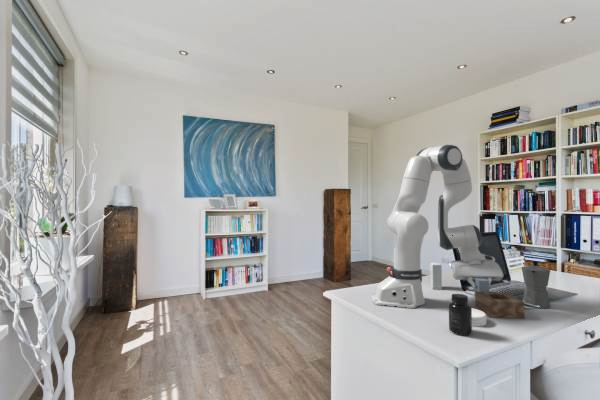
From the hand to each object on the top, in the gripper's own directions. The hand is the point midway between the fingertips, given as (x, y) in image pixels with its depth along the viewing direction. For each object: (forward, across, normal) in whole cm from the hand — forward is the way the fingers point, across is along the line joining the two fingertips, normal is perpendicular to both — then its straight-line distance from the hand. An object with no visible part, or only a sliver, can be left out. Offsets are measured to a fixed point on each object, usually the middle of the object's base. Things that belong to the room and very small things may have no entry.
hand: (482, 288), depth 132 cm
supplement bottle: (+28, -21, -20) cm, 40 cm away
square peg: (+4, 0, +4) cm, 5 cm away
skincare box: (-9, -14, +17) cm, 24 cm away
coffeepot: (+6, +20, +2) cm, 21 cm away
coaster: (+21, -14, -13) cm, 28 cm away
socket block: (+14, 0, -6) cm, 15 cm away
